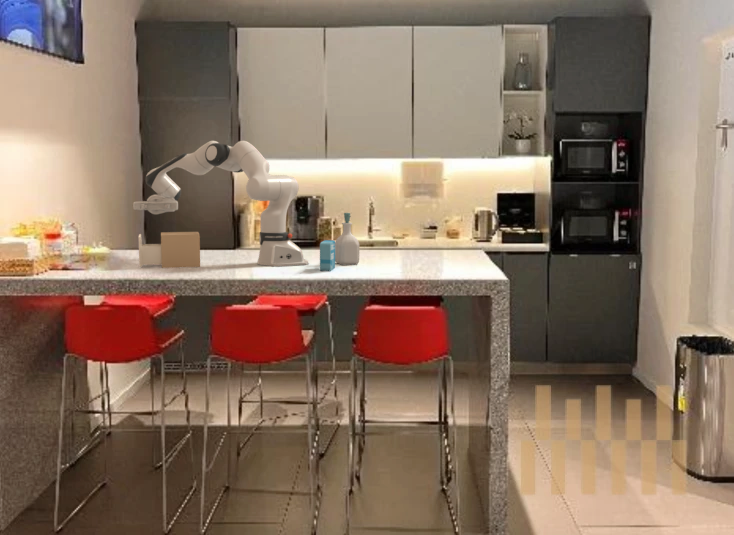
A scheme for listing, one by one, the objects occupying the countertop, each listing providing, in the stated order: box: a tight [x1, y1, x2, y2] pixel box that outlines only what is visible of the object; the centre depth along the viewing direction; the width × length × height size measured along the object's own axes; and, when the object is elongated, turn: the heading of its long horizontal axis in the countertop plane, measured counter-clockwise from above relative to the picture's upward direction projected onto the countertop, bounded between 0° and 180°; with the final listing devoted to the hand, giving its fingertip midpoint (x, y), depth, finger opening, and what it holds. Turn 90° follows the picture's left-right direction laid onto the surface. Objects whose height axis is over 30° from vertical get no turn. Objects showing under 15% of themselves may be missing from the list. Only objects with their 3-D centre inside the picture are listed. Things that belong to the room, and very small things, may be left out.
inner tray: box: [137, 233, 162, 268], centre depth 352 cm, size 16×17×13 cm
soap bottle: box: [335, 212, 360, 266], centre depth 361 cm, size 10×10×23 cm
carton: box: [160, 231, 201, 269], centre depth 352 cm, size 16×12×14 cm
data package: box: [319, 239, 336, 272], centre depth 344 cm, size 12×4×12 cm, turn 173°
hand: (155, 206), depth 371 cm, fingers open, 8 cm apart
